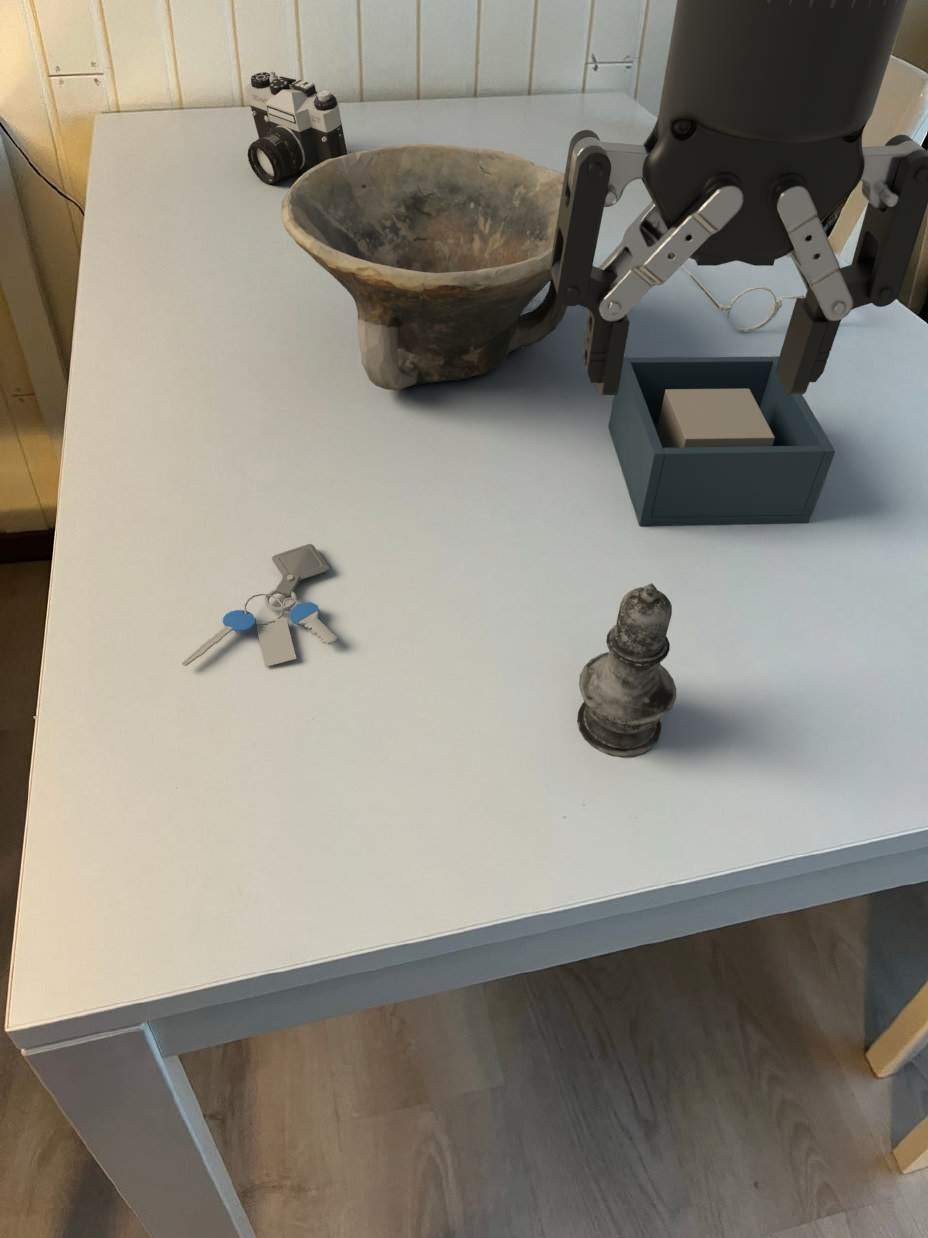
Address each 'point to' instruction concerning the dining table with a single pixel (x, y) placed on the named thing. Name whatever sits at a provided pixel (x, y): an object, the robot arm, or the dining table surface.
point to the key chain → (280, 610)
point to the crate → (717, 476)
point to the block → (712, 419)
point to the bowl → (434, 254)
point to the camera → (292, 126)
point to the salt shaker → (629, 678)
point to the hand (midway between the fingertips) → (698, 386)
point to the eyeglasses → (772, 310)
